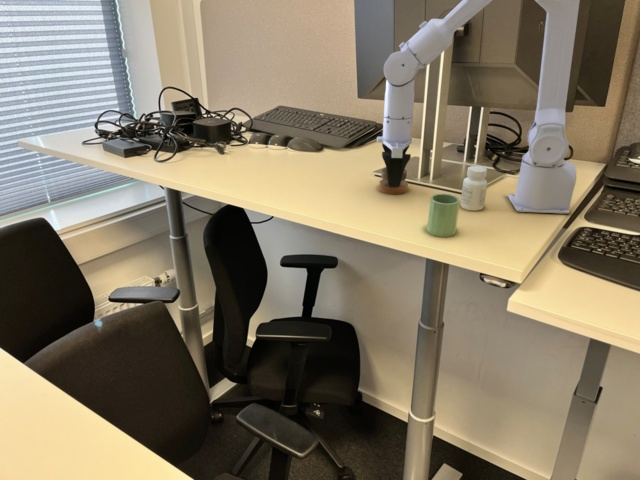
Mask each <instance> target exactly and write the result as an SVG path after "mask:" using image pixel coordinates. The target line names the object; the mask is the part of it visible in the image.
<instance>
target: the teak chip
mask: <svg viewBox="0 0 640 480" xmlns="http://www.w3.org/2000/svg"><path fill="white" fill-rule="evenodd" d="M408 186H409V183H408V181H406V179H405V180H403V181H401V183H400V186H399V187H391V186H389V184H388V181H387V180H384V179H382V178H381V179H380V180H379V183H378V190H379V191H380V192H381V193H383V194H388V195H401V194H405V193H407V192H408V188H409V187H408Z"/></svg>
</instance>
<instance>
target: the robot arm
mask: <svg viewBox="0 0 640 480" xmlns="http://www.w3.org/2000/svg"><path fill="white" fill-rule="evenodd" d="M580 1H581V0H534V2H536V3H537V4H538V5H539V7H541V8H542V9H543V10H544V11H545V12H546V14H545V15H546V16H545V18H546V19H545V25H544V33H543V34H544V35H543V44H542V53H541V63H540V73H539V81H538V83H539V84H538V92H537V99H536V100H537V101H536V108H535V113H534V120H533V124H532V126H531V127H530V128H529V131H528V132H527V136H526V139H527V141H526V142H527V144H528V151H527V152H525V154H523V155H522V158H521V164H520V169H519V173H518V179H517V182H516V183H517V184H516V188H515V194H513V193H511V194H510V193H509V194H508V195H507V197H508V199H509V202H511V204H512V205H513V208H514V210H515V211H516V212H519V213H539V214H540V213H541V214H543V213H544V214H565V215H566V214H570V212H571V211H570V210H569V209H570V207H571V202H572V198H573V195H574V190H575V187H576V183H577V167H576V165H575V163H574V162H572V161H565V158H566V156H567V154H568V152H569V148H570V144H569V140H568V139H567V136H566V123H567V122H566V121H567V120H566V108H567V107H566V106H567V100H568V92H569V85H570V78H571V77H570V76H571V70H572V62H573V56H574V55H573V53H574V46H575V39H576V31H577V23H578V17H579V8H580ZM491 2H493V0H461V1H460V2H458V4H457V5H456V6H455V7H454V8H453V9H452V10H451V11H450V12H448V13H447V14H446V16H445V17H444V18H431V19H430V20H429V21H428V22H427V20H424V21H423V22H422V23H421V24H419V25H418V26H419V28H420V29H419V30H418V31H417V32H416V33H415V34H413V35H412V37H410V38H409V39H408V40H407V41H406V42H405V41H402V42H401V43H400V44H399V46H398V47H399V49H400V50H399V51H395V52H392V53H390V54H389V56H388V58H387V59H386V61H385V62H384V64H383V75H384V78H385V92H384V102H383V104H384V105H383V123H382V135H381V136H377V137H376V143H382V144H381V147H382V148H383V151H382V152H381V158H382V160H383V162H384V165H385V168H386V169H387V176H388V184H389V186H391V187H399V186H400V183H401V179H402V175H403V172H404V169H405V170H406V166H407V165H408V163H409V162H410V160H411V157H412V156H411V153H407V151H408V150H409V148H410V145H411V144H412V143H413V138H412V130H413V119H414V118H413V117H414V108H415V107H414V106H415V94H416V93H415V82H416V77H417V75H418V74H419V71H420V69H425V68H427V66H429V65H430V64H431V63H432V62H433V61H434V60H435V59H437V58H438V57H439V56H440V55H441V54H443V53H444V52H445V51H446V50H448V48H449V47H450V46H452V44H453V38H454V34H455V32H456V31H457V30H459V29H461V27H462V26H464V25H465V24H466V23H467V22H468V21H470V20H472V18H473V17H474V16H476V15H477V14H478V13H479V12H480V11H481V10H483V9H484V8H486V6H488V5H489V4H490V3H491Z"/></svg>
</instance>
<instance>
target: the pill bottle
mask: <svg viewBox="0 0 640 480" xmlns="http://www.w3.org/2000/svg"><path fill="white" fill-rule="evenodd" d="M487 174H488V169H487V168H486V167H484V166H480V165H471V166H468V167H467V172H466V176H467V177H465V178H464V179H463V180H462V181H463V182H462V188H461V196H460V205H459V206H460V208H462V209H464V210H467V211H474V212H475V211H481V210H482V209H484V206H485V202H486V194H487V188H488V181H487V179H486V178H487Z"/></svg>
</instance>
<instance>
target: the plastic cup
mask: <svg viewBox="0 0 640 480" xmlns="http://www.w3.org/2000/svg"><path fill="white" fill-rule="evenodd" d="M460 202H461V198H460V197H458V196H456V195H453V194H450V193H435V194H432V195H431V196H430V197H429V204H428V213H427V214H428V216H427V224H426V231H427V232H428V233H429V234H430V235H432V236H434V237H439V238H448V237H452V236H454V235H455V234H456V231H457V225H458V218H459V211H460V206H461V205H460Z"/></svg>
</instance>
